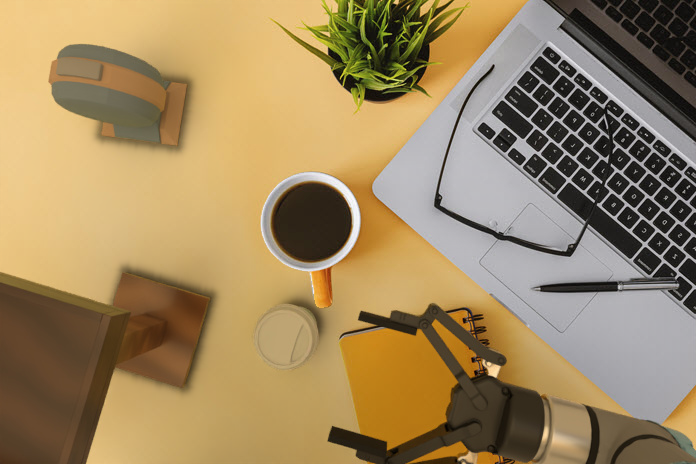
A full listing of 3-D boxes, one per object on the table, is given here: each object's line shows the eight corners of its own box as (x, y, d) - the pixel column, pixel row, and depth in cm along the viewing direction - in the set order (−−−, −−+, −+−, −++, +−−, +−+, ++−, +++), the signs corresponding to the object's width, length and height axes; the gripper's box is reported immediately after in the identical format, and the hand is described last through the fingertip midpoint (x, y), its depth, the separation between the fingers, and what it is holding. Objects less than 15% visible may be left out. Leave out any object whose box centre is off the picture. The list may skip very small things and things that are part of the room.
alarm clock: (193, 85, 76) (138, 34, 58) (183, 146, 75) (125, 114, 58) (106, 74, 77) (25, 20, 59) (95, 134, 76) (12, 98, 59)
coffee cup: (294, 365, 73) (278, 387, 61) (258, 321, 74) (236, 334, 62) (337, 329, 73) (330, 344, 61) (302, 285, 73) (288, 291, 61)
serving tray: (75, 499, 45) (50, 520, 41) (-100, 441, 46) (-139, 456, 42) (131, 311, 45) (111, 316, 42) (-44, 258, 46) (-78, 258, 43)
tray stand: (184, 386, 74) (62, 472, 45) (99, 359, 75) (-75, 426, 46) (210, 297, 74) (105, 326, 45) (125, 272, 75) (-31, 284, 46)
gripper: (498, 520, 56) (322, 467, 58) (550, 310, 56) (372, 264, 58) (515, 562, 48) (311, 500, 50) (575, 320, 48) (370, 267, 50)
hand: (344, 374), depth 54 cm, fingers open, 13 cm apart
